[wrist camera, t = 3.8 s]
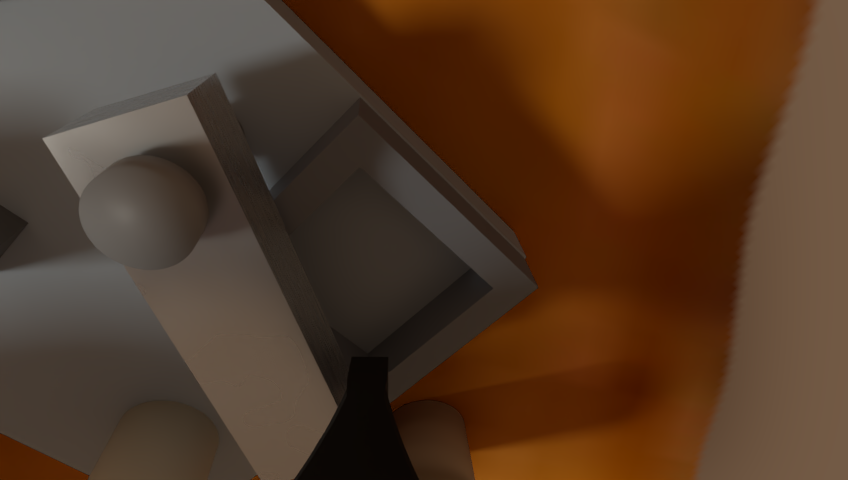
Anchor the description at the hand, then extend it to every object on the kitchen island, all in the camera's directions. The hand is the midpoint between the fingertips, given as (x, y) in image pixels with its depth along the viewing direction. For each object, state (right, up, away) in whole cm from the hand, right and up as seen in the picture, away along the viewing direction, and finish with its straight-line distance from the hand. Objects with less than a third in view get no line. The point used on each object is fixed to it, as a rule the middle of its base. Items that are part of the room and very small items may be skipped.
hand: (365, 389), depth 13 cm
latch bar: (-3, +3, 0) cm, 4 cm away
